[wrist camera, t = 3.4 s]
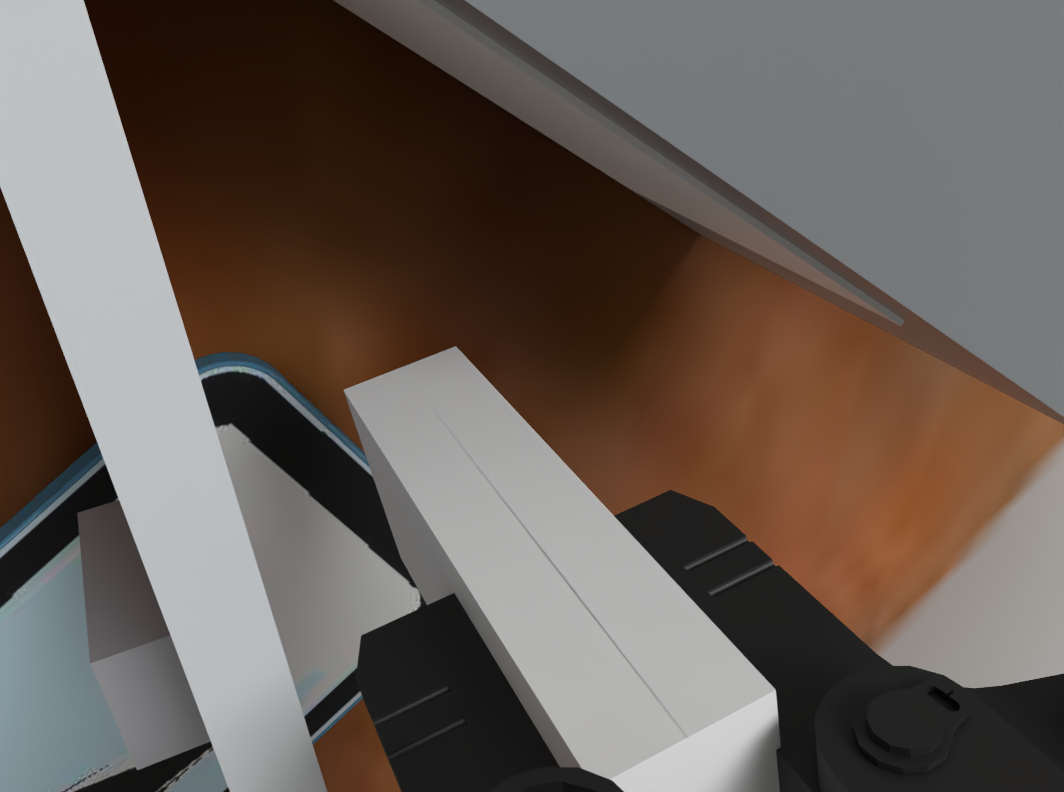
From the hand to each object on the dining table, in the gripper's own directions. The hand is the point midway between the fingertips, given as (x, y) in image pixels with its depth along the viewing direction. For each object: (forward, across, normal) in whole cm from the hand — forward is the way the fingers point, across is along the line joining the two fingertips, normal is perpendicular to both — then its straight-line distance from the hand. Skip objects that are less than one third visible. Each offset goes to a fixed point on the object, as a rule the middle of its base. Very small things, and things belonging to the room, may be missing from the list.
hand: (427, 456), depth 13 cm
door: (+3, -3, +3) cm, 5 cm away
